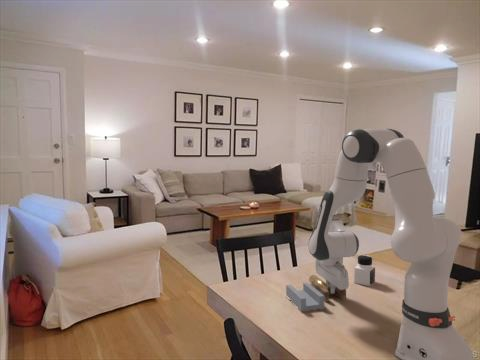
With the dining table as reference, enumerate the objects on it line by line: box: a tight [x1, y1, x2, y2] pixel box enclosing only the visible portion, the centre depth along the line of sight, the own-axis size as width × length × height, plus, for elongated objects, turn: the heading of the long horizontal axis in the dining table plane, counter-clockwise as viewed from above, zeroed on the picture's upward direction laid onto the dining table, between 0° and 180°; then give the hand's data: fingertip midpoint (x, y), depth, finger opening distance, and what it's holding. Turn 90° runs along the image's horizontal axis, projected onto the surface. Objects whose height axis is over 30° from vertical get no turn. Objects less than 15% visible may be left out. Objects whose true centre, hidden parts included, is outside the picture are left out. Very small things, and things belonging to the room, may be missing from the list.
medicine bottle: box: [353, 254, 376, 287], centre depth 156 cm, size 7×7×12 cm
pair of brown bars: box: [311, 281, 347, 303], centre depth 143 cm, size 12×9×4 cm
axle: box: [308, 274, 333, 297], centre depth 149 cm, size 14×4×4 cm, turn 15°
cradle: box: [285, 282, 325, 312], centre depth 136 cm, size 14×10×5 cm
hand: (331, 292), depth 140 cm, fingers closed
